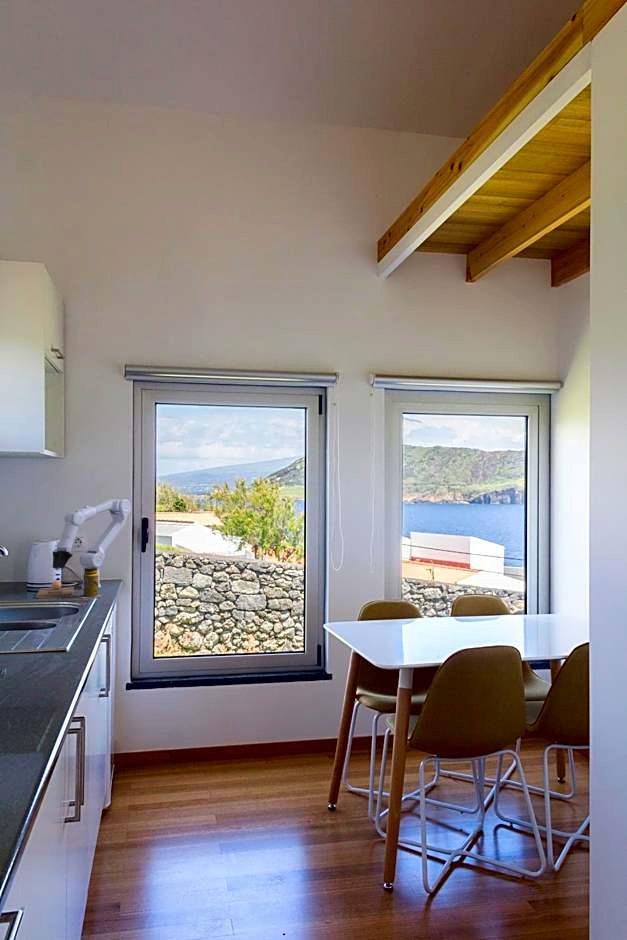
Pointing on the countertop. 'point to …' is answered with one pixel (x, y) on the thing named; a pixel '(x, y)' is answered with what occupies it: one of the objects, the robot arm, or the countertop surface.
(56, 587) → the ball
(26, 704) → the countertop surface
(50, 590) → the deck
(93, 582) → the condiment
